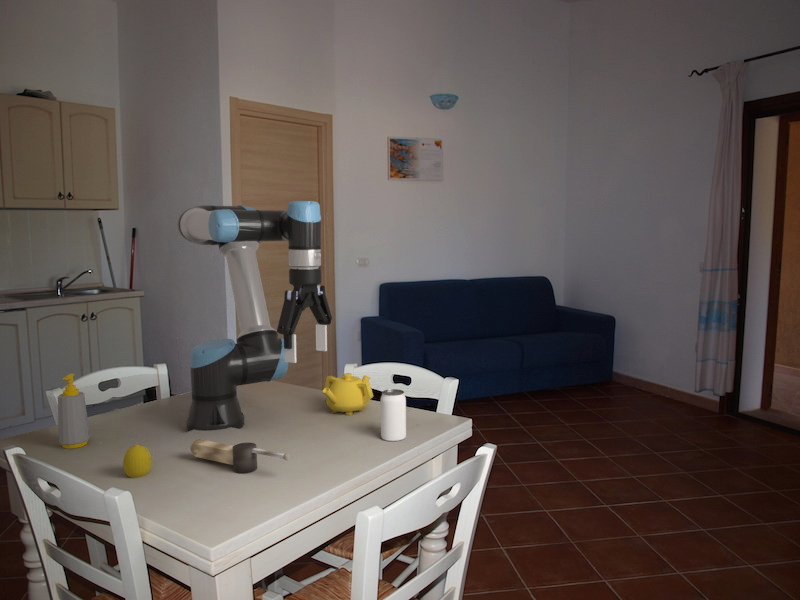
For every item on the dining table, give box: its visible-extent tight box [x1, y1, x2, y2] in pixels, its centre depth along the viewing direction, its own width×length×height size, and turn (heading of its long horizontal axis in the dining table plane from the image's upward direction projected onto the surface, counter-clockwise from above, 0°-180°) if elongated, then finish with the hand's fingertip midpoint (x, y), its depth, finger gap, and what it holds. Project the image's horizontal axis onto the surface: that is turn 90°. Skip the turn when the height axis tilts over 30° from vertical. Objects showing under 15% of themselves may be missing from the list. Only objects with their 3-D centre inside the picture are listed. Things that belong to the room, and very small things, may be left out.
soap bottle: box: [57, 373, 91, 450], centre depth 147 cm, size 7×7×18 cm
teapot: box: [322, 372, 374, 417], centre depth 174 cm, size 20×18×11 cm
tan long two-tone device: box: [190, 439, 291, 474], centre depth 128 cm, size 27×5×5 cm, turn 63°
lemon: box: [122, 443, 153, 479], centre depth 126 cm, size 6×6×8 cm
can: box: [380, 388, 407, 443], centre depth 150 cm, size 6×6×12 cm
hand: (306, 356), depth 141 cm, fingers open, 13 cm apart
